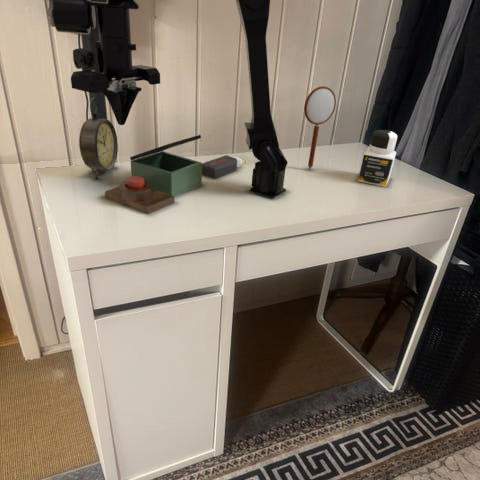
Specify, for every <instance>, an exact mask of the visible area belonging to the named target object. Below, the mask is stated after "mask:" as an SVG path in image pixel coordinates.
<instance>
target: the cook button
mask: <svg viewBox="0 0 480 480" xmlns="http://www.w3.org/2000/svg"><path fill="white" fill-rule="evenodd" d="M125 181H126V184H127V188H129V189H135V190H137V189H143V188H145V181H144V178H142V177H139V176H132V175H131V176H128V177H126V179H125Z"/></svg>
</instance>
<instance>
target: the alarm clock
mask: <svg viewBox="0 0 480 480" xmlns="http://www.w3.org/2000/svg"><path fill="white" fill-rule="evenodd" d="M93 101H94V103H95V111H93V109H92V104H93ZM89 110H90V114H92V117H91V118H88V119H86V120H85V121H84V122H83V123H82V125H81V128H80V131H79V135H78V136H79V138H78V145H79V152H80V156H81V158H82V162H83V163H84V164H85V165H86V167H87V168H89V169H90V170H91V172H93V171H95V175H96V176H95V180H99V175H100V171H104V172H109V171H111V170H112V169H113V168H115V165H116V162H117V159H118V153H119V145H118V136H117V132H116V131H117V130H116V128H115V126H114V124H113V123H112V122H111V121H110V120H109V119H107V118H99V117H98V116H97V114H98V101H97V99H96V98H95V97H92V98H91V99H90V102H89Z"/></svg>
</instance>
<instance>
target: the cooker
mask: <svg viewBox="0 0 480 480" xmlns="http://www.w3.org/2000/svg"><path fill="white" fill-rule="evenodd" d="M202 163H203V162H201V161H198V160H195V159H191V158H187V157H184V156H181V155H177V154H174V153H172V152H171V153H170V152H168V151H165V150H164V151H161V152H157V153H154V154H151V155H147V156H144V157H141V158H138V159H134V160H130V175H131V176H139V177H142V178H144V181H146V182H149V183H150V184H151V185H152V189H154V190H157V191H160V192H163V193H166V194H169V195H172V196H174V198H175V197H177V196H180V195H182V194H184V193H187V192H189V191H192V190H194V189H196V188H197V189H198V188H199V187H202V185H203V184H202V183H203V180H202V179H203V175H202Z"/></svg>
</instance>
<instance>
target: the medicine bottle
mask: <svg viewBox="0 0 480 480" xmlns="http://www.w3.org/2000/svg"><path fill="white" fill-rule="evenodd" d="M397 140H398V135H397V133H395V132H394V131H391V130H387V129H377V130H374V131H373V132H372V134H371V138H370V142H369V145H368V147H367V149H366V150H365V151H364V153H363V156H362V161H361V166H360V170H359V175H358V179H357V181H358V182H359V183H364V184H370V185H375V186H380V187H384V188H385V187H387V185H388V183H389V181H390V178H391V175H392V171H393V167H394V163H395V160H396V155H397V151H395V149H396V144H397Z"/></svg>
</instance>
